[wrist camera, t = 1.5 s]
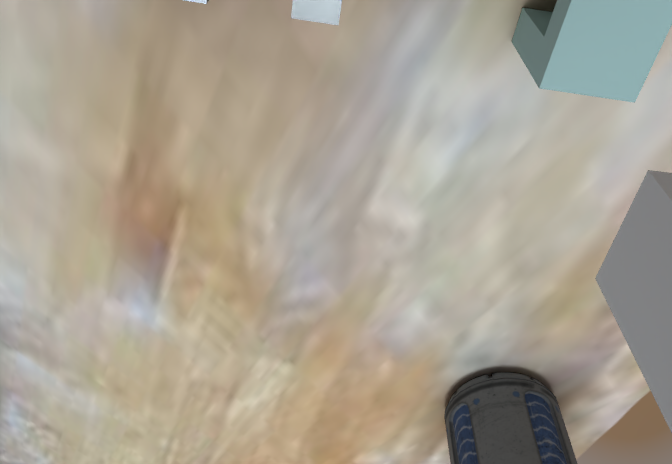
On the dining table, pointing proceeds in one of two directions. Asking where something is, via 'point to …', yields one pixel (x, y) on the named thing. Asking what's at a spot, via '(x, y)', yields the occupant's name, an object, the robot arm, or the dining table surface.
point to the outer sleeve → (199, 1)
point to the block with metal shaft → (317, 10)
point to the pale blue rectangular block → (593, 45)
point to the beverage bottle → (506, 423)
